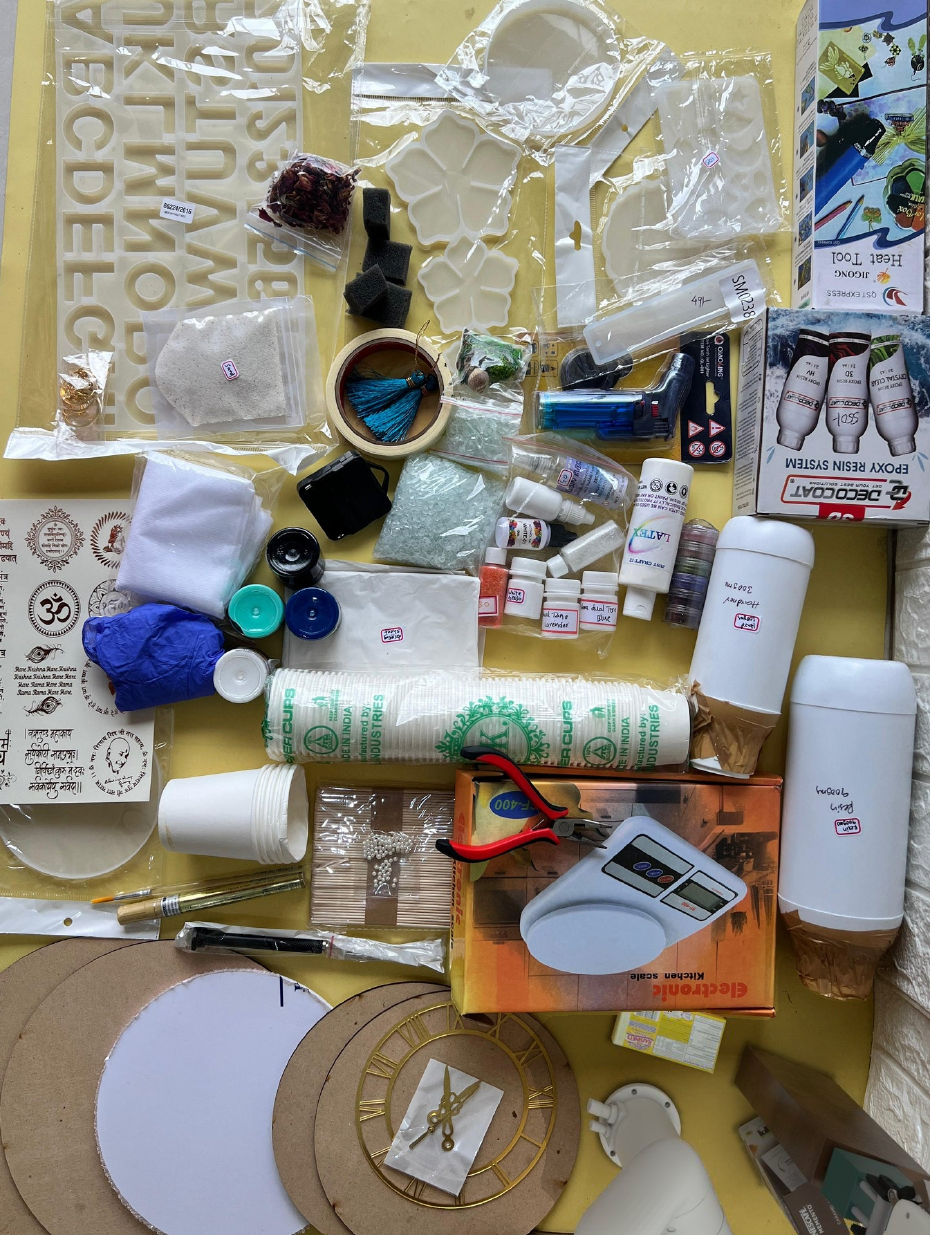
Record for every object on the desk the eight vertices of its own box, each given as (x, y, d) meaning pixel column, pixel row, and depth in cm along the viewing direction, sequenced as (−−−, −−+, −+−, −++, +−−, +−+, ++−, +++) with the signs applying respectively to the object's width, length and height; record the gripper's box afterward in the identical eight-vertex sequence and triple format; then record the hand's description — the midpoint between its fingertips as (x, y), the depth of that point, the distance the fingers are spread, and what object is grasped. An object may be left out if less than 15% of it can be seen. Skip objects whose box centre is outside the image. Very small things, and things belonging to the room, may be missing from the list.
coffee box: (735, 1128, 122) (780, 1194, 106) (771, 1108, 122) (821, 1171, 106) (762, 1183, 121) (812, 1259, 105) (798, 1163, 122) (853, 1235, 106)
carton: (819, 1192, 96) (868, 1246, 87) (834, 1146, 97) (884, 1196, 88) (881, 1211, 97) (935, 1266, 89) (895, 1166, 98) (950, 1217, 89)
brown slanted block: (733, 1082, 123) (811, 1185, 97) (746, 1045, 123) (826, 1137, 98) (820, 1116, 123) (919, 1227, 98) (832, 1078, 123) (934, 1179, 98)
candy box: (708, 1068, 123) (723, 1016, 123) (713, 1075, 121) (728, 1022, 121) (609, 1037, 123) (625, 985, 123) (612, 1044, 121) (628, 991, 121)
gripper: (966, 1227, 74) (861, 1120, 92) (912, 1413, 72) (817, 1267, 90) (1040, 1254, 74) (921, 1142, 92) (988, 1441, 72) (877, 1290, 90)
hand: (870, 1205), depth 91 cm, fingers closed on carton, 5 cm apart
